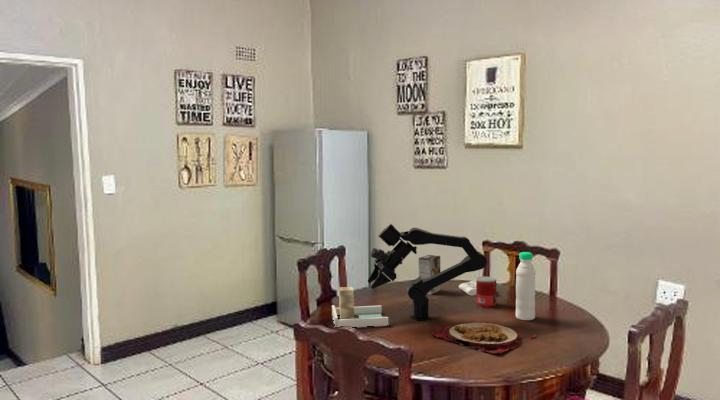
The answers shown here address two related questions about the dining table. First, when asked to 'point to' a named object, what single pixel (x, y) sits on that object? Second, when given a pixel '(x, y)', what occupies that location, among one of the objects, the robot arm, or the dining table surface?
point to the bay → (361, 317)
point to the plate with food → (482, 336)
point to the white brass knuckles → (469, 287)
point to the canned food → (486, 291)
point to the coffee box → (429, 269)
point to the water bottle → (525, 288)
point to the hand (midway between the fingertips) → (369, 285)
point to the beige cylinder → (346, 302)
